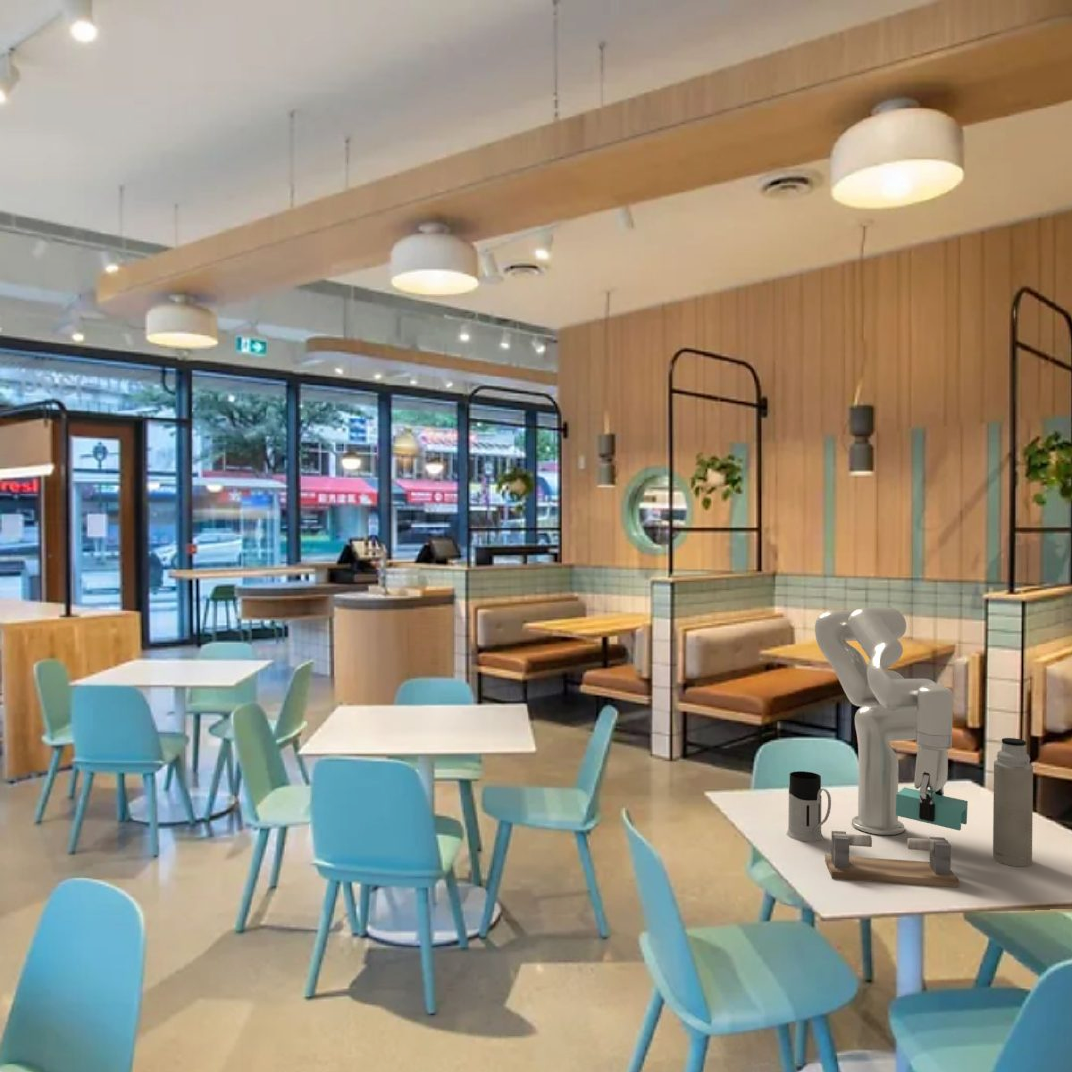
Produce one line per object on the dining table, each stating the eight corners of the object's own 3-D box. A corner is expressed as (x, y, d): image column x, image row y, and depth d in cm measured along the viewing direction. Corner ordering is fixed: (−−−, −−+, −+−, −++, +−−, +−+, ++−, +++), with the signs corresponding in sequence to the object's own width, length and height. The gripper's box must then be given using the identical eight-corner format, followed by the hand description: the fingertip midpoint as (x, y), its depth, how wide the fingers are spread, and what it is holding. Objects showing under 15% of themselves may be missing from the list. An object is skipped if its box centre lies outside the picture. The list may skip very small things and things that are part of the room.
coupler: (903, 808, 212) (904, 787, 212) (966, 823, 203) (967, 801, 203) (895, 815, 208) (896, 793, 207) (959, 830, 199) (960, 807, 199)
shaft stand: (824, 861, 203) (825, 825, 203) (945, 869, 199) (945, 833, 199) (831, 878, 193) (832, 840, 193) (958, 887, 189) (959, 848, 189)
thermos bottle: (986, 853, 208) (987, 735, 208) (1019, 853, 209) (1020, 735, 209) (1005, 866, 200) (1006, 743, 200) (1039, 866, 201) (1040, 743, 201)
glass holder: (808, 827, 226) (809, 769, 226) (844, 846, 213) (845, 784, 212) (779, 831, 223) (779, 772, 223) (814, 850, 210) (814, 787, 210)
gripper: (927, 729, 214) (925, 802, 215) (905, 744, 200) (902, 822, 201) (961, 735, 209) (958, 810, 210) (940, 750, 196) (937, 830, 196)
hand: (931, 815), depth 205 cm, fingers closed on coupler, 6 cm apart
